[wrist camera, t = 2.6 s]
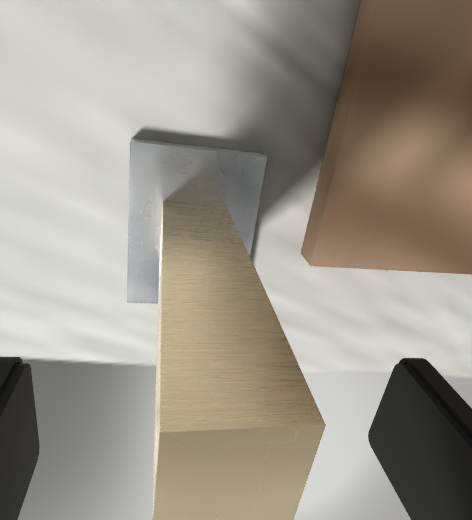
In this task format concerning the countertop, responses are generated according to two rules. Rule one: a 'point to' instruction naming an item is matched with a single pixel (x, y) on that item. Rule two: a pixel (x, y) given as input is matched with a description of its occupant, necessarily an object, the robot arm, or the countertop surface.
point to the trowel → (215, 340)
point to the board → (400, 144)
